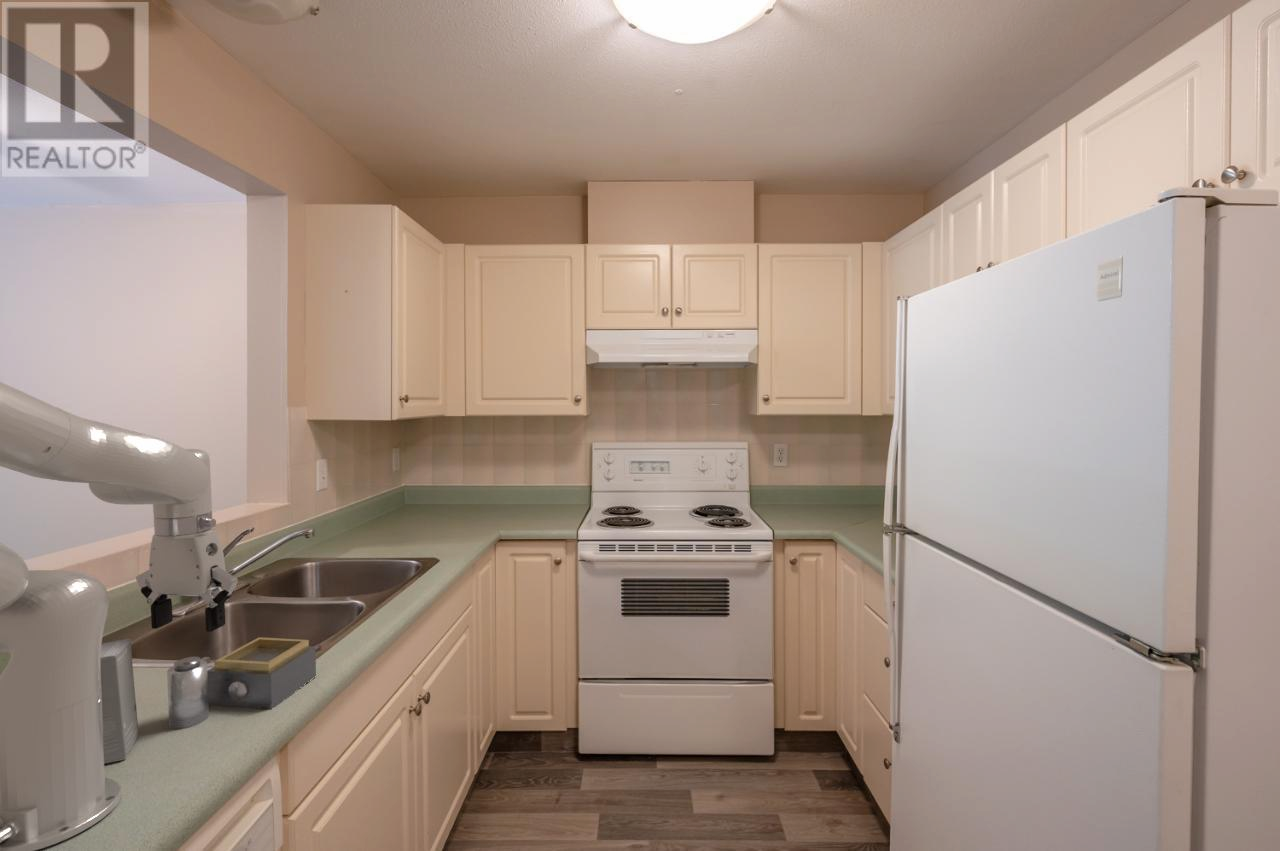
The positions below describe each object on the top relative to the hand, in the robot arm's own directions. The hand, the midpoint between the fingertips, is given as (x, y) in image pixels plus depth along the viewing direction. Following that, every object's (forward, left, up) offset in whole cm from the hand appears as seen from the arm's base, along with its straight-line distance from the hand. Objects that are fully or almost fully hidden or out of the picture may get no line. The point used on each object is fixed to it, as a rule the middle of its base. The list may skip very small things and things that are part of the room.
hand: (189, 626), depth 96 cm
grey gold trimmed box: (+10, -5, -16) cm, 19 cm away
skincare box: (-10, +5, -16) cm, 19 cm away
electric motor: (-1, 0, -16) cm, 16 cm away
